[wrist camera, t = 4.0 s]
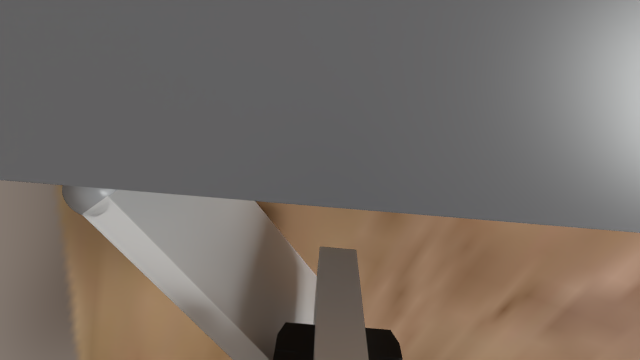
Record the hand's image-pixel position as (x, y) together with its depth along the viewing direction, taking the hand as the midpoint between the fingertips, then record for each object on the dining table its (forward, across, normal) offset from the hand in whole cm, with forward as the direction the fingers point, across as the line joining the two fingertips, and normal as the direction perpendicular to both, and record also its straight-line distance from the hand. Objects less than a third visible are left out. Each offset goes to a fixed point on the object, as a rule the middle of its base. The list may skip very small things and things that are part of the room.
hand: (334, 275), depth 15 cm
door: (+3, +4, 0) cm, 5 cm away
